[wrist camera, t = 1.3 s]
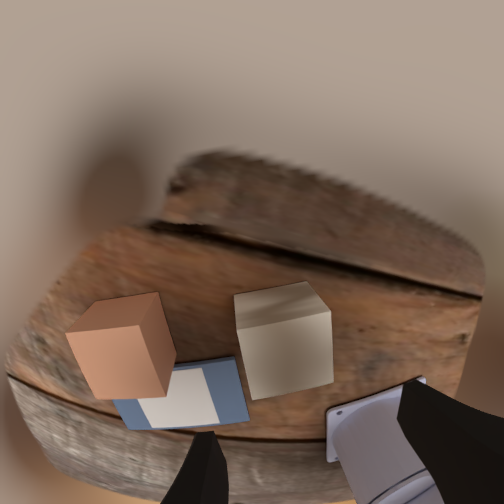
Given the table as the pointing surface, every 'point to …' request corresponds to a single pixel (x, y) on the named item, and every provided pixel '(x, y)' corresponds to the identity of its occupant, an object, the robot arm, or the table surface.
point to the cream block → (284, 339)
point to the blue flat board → (191, 399)
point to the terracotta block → (124, 347)
